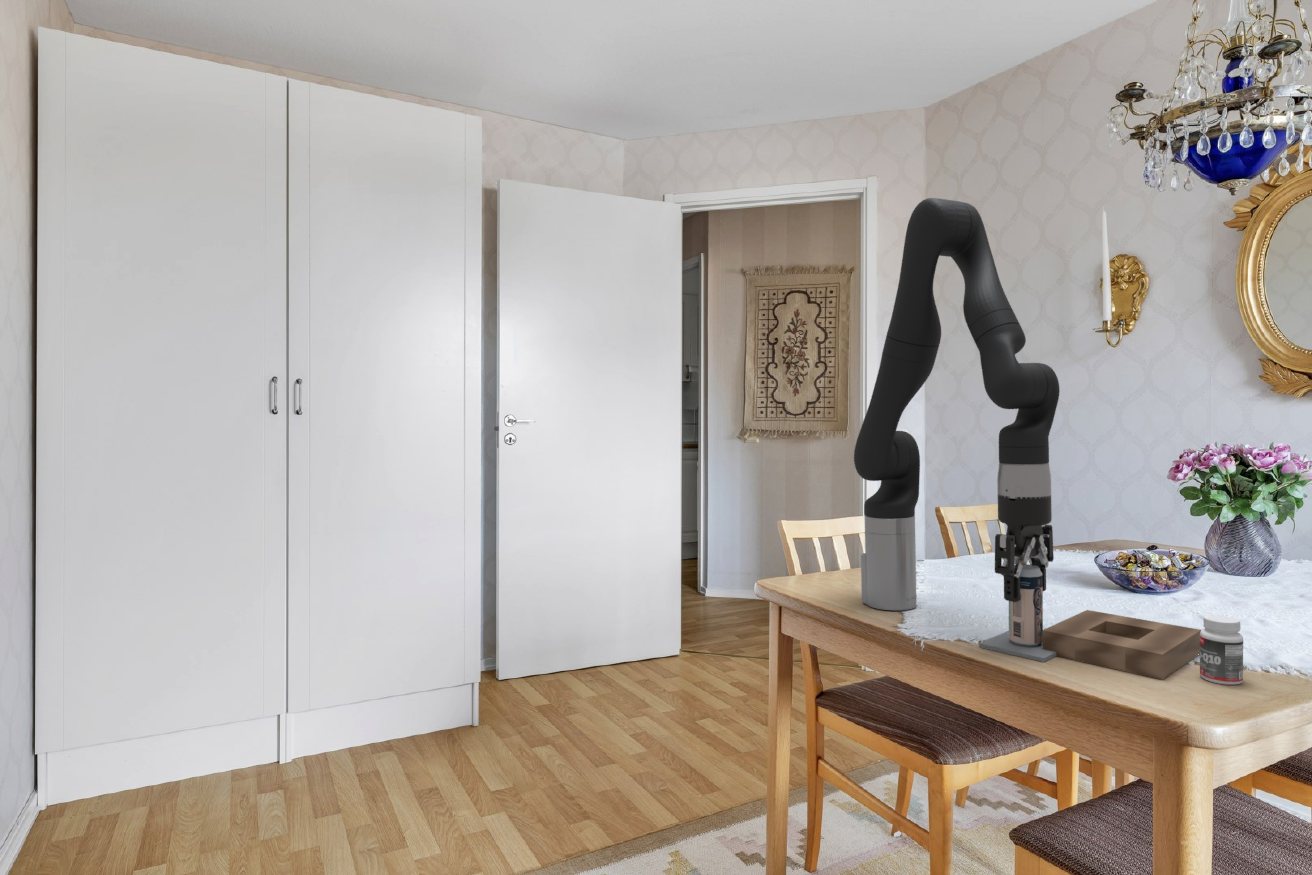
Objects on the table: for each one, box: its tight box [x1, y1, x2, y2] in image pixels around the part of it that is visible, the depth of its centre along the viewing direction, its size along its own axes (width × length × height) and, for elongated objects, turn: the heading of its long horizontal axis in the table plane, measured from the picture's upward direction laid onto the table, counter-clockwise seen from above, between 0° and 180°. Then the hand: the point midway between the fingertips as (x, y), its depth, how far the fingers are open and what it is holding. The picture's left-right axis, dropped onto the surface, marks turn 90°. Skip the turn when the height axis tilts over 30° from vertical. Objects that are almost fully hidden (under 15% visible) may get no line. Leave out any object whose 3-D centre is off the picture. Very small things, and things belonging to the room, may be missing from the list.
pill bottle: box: [1199, 614, 1244, 686], centre depth 104 cm, size 5×5×8 cm
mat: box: [978, 630, 1057, 663], centre depth 120 cm, size 10×10×1 cm
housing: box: [1043, 609, 1202, 681], centre depth 116 cm, size 16×16×4 cm
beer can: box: [1008, 563, 1044, 646], centre depth 120 cm, size 5×5×12 cm
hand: (1025, 595), depth 120 cm, fingers open, 8 cm apart
